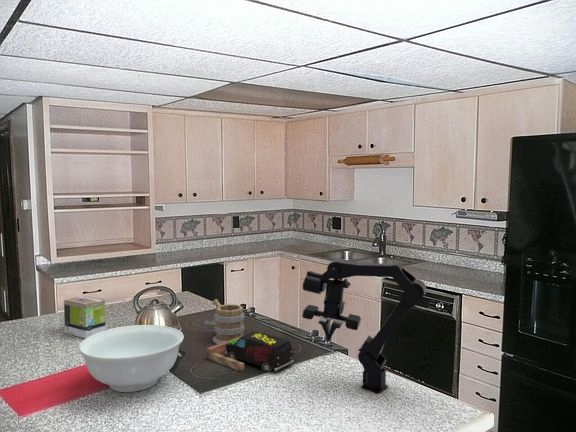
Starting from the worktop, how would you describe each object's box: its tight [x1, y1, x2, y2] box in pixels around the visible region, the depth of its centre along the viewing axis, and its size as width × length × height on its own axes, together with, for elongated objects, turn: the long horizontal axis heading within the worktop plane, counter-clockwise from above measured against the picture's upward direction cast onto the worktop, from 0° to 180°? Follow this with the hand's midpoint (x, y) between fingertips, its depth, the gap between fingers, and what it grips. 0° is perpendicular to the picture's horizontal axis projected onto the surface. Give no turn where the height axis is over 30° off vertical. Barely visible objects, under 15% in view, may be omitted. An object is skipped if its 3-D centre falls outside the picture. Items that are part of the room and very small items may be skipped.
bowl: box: [78, 324, 184, 393], centre depth 156 cm, size 32×32×15 cm
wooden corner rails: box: [206, 336, 245, 372], centre depth 178 cm, size 18×18×4 cm
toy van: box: [225, 330, 294, 373], centre depth 174 cm, size 11×25×10 cm, turn 53°
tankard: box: [212, 298, 245, 345], centre depth 199 cm, size 20×13×15 cm, turn 34°
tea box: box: [63, 295, 106, 339], centre depth 204 cm, size 15×10×15 cm, turn 58°
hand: (328, 340), depth 160 cm, fingers closed
